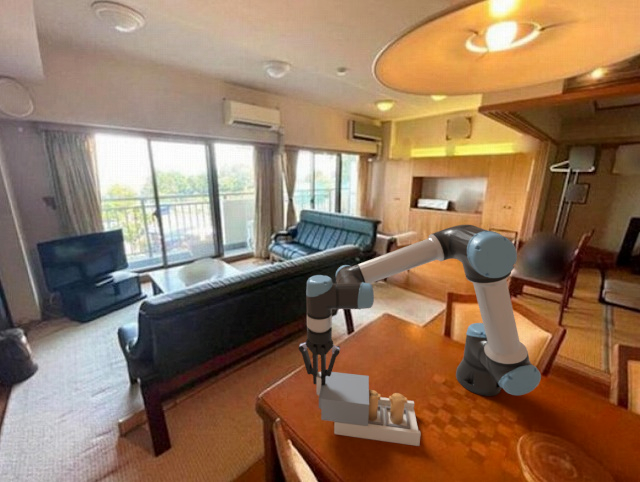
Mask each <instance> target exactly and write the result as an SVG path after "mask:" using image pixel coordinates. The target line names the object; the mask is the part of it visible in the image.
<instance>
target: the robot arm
mask: <svg viewBox="0 0 640 482" xmlns="http://www.w3.org/2000/svg"><path fill="white" fill-rule="evenodd" d="M453 259H454V260H457V261H459V263H460V262H461V264H462V266H463V270H464V275H465V278H466V280H467V281H468V282H471V283H472V284H473V289H474V292H475V295H476V301H477V305H478V308H479V313H480V316H481V320H482V322H475V323H474V322H473V323H471V324H469V325H468V327H467V330H466V334H465V336H466V337H465V343H464V344H465V345H464V350H463V357H462V360H461V361H460V362H459V365H457V367H456V371H455V377H456V380H457V382H458V383H459V384H460V385H461V386H462V387H463V388H465V389H467V391H469V392H471V393H473V394H476V395H479V396H485V397H492V396H498V394H500V392H501V390H502V389H503V390H504V392H506V393H507V394H510V395H512V396H522V395H526V394H529V393H530V392H532V391H534V390H535V389H536V388H537V387H539V385H540V382H541V379H542V375H541V372H540V370H539V369H538V368H537V366H535V365H533V364H532V363H531V361H530V357H529V351H528V348H527V346H526V345H525V344H524V343H523V342H521V341H520V338H519V337H520V336H519V332H518V328H517V324H516V318H515V315H514V309H513V303H512V299H511V295H510V290H509V286H508V280H507V279H508V278H509V277H511V275H512V271H513V270H514V265H516V263H517V261H518V253H517V249H516V247H515V245H514V244H513V242H512V241H511V240H510V239H509V238H507V237H506V236H504V235H503V234H500V233H499V232H496V231H492V230H487V229H485V228H482V227H478V226H476V225H472V224H459V225H454V226H451V227H447V228H444V229H441V230H438V231H436V232H433V233H431V234H429V235H428V237H427V238H426V239H424V240H421V241H417V242H414V243H413V244H412V243H411V244H410V245H406V246H404V247H401V248H398V249H396V250H393V251H390V252H387V253H385V254H382V255H380V256H377V257H375V258H374V257H373V258H372V259H369V260H366V261H363V262H361V263H360V262H359V263H358V264H355V265H349V264H344V265H340V267H338V268H337V270H336V271H335V283H334V282H333V279H332V278H331V277H330V276H328V275H322V274H316V275H312V276H310V277H308V279H307V281H306V291H305V293H306V296H305V297H306V299H305V300H306V339H305V340H306V341H305V342H300V343H299V346H298V350H299V352H300V353H301V356H302V359H303V362H304V366H305V370H306V374H307V375H312V378H313V379H312V380H313V381H312V382H313V385H316V395H317V396H319V395H320V390H321V385H325V382H326V376H331V372H333V369H334V366H335V362H336V358H337V357H338V355H339V354H340V352H341V351H340V350H341V347H340V346H339V345H335V344H334V341H333V339H332V337H333V336H332V335H333V331H332V330H333V328H332V325H333V310H362V309H363V310H365V309H371V308H373V305H374V300H375V294H374V293H375V292H374V287H373V285H372V284H373V283H375V282H378V281H381V280H383V279H386V278H389V277H392V276H396V275H398V274H401V273H403V272H406V271H409V270H412V269H415V268H418V267H421V266H423V265H425V264H426V265H427V264H429V263H431V262H433V261H439V262H443V261H446V260H453ZM309 351H310V353H311V354H312V356H311V357H312V358H310V353H309ZM330 351H331V353H332V354H331V357H330V361H329V364H328V367H327V354H328V353H329V352H330ZM319 356H320V371H319ZM311 359H312V362H311Z"/></svg>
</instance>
